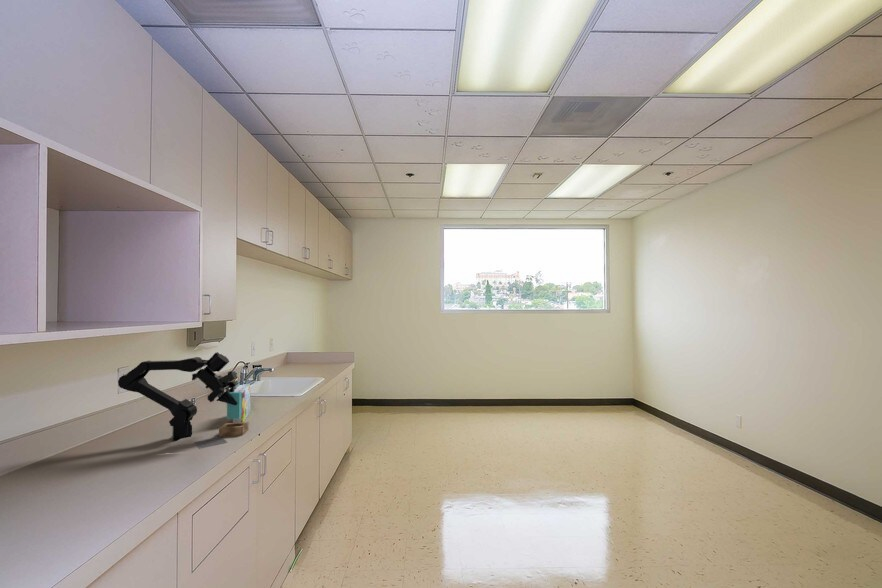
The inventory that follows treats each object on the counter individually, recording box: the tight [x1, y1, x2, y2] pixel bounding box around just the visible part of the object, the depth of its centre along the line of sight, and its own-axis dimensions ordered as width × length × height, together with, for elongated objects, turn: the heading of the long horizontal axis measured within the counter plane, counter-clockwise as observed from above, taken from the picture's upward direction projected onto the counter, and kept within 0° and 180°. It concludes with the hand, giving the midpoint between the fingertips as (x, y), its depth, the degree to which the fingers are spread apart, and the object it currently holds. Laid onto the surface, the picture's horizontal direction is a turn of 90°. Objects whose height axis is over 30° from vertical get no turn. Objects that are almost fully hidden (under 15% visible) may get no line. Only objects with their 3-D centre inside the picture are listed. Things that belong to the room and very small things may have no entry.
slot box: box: [218, 421, 250, 437], centre depth 169 cm, size 10×7×4 cm
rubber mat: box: [194, 436, 228, 449], centre depth 157 cm, size 10×10×1 cm
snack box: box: [230, 383, 252, 423], centre depth 194 cm, size 21×6×15 cm, turn 17°
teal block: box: [226, 392, 241, 420], centre depth 169 cm, size 5×2×11 cm, turn 99°
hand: (237, 403), depth 169 cm, fingers closed on teal block, 2 cm apart
